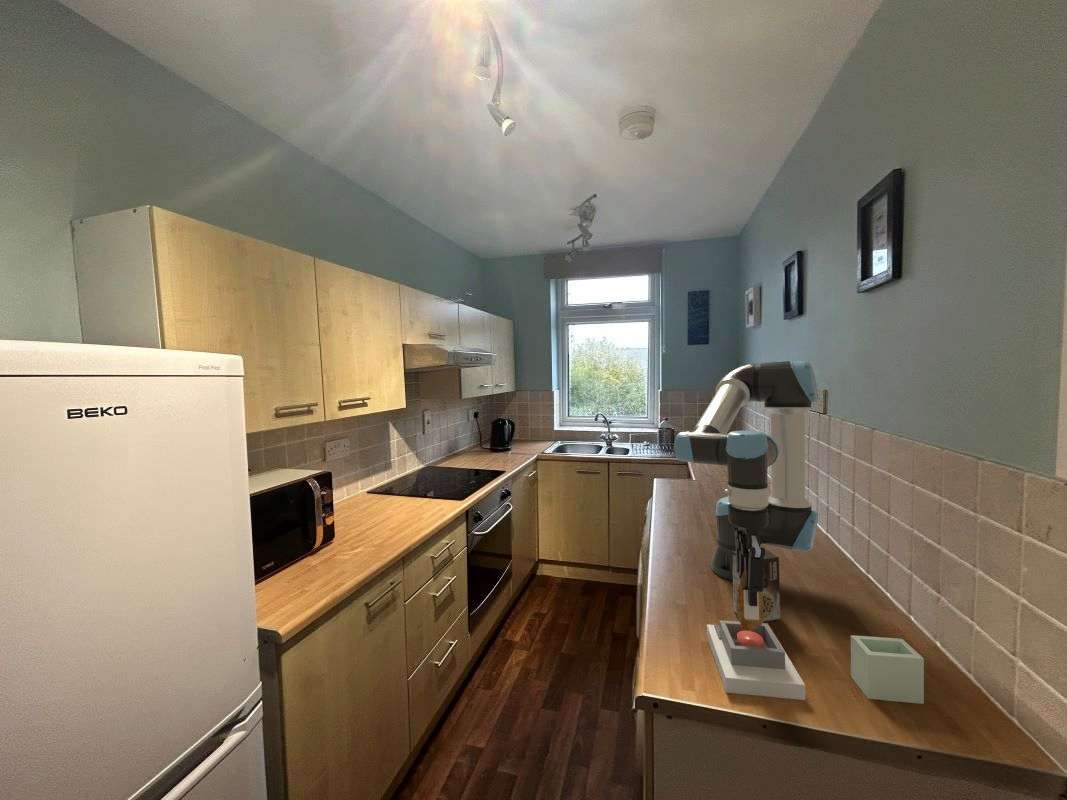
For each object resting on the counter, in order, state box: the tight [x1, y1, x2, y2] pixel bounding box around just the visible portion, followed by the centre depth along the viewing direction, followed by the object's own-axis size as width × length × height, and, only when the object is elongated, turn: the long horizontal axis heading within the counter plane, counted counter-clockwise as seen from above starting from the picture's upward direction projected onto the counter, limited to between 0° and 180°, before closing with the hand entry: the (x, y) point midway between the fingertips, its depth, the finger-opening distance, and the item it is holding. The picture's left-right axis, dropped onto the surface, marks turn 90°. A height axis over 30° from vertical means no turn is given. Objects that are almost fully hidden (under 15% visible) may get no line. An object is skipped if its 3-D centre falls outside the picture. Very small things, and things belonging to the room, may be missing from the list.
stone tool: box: [736, 569, 764, 631], centre depth 89 cm, size 5×2×15 cm, turn 80°
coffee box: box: [732, 546, 782, 623], centre depth 108 cm, size 9×6×16 cm
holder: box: [850, 634, 925, 705], centre depth 82 cm, size 6×9×9 cm, turn 79°
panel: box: [706, 619, 806, 701], centre depth 90 cm, size 18×14×6 cm
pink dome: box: [737, 631, 764, 648], centre depth 90 cm, size 5×5×3 cm
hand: (749, 614), depth 90 cm, fingers closed on stone tool, 2 cm apart
